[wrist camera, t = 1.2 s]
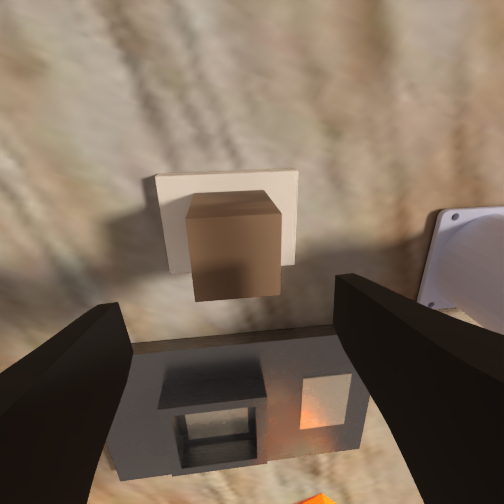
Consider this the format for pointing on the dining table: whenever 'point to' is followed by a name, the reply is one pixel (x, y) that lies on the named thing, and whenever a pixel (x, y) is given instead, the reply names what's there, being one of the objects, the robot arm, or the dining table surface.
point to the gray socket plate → (236, 402)
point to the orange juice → (320, 500)
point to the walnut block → (234, 245)
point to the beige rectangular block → (186, 184)
